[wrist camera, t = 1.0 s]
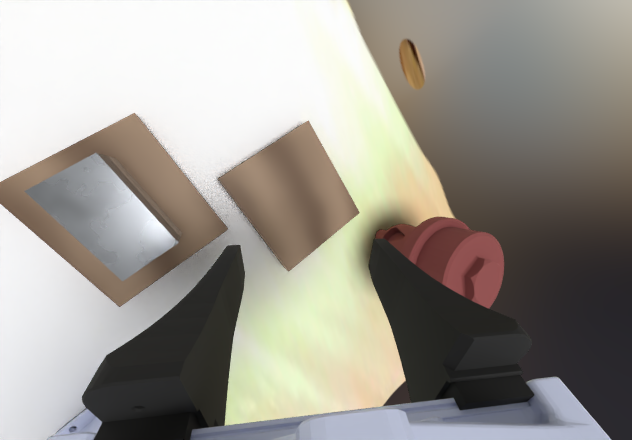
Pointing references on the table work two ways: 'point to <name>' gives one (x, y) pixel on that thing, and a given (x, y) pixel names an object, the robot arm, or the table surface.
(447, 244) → the mechanical component
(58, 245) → the stand
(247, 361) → the table surface
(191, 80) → the table surface
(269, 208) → the stand
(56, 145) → the table surface
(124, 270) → the block
